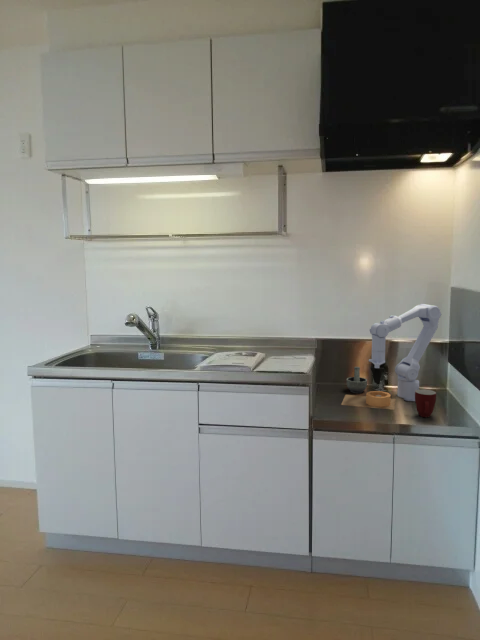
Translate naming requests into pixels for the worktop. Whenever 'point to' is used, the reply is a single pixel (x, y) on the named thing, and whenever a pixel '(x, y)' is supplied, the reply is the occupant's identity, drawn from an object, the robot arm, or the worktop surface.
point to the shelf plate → (364, 402)
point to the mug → (425, 402)
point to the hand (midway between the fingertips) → (377, 380)
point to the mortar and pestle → (356, 382)
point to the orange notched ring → (378, 398)
